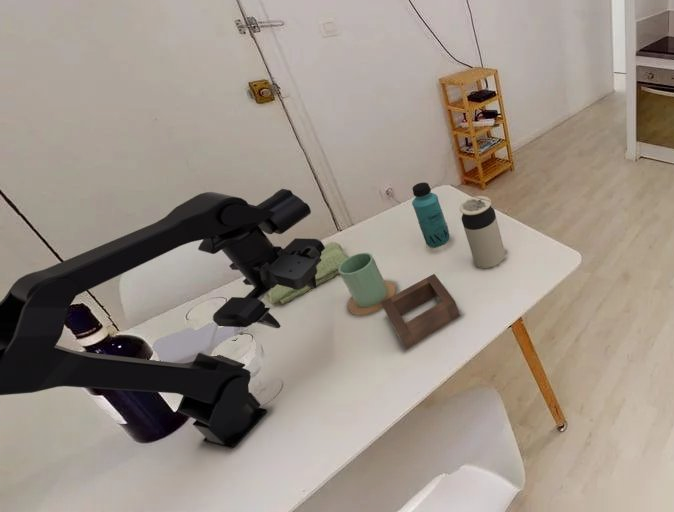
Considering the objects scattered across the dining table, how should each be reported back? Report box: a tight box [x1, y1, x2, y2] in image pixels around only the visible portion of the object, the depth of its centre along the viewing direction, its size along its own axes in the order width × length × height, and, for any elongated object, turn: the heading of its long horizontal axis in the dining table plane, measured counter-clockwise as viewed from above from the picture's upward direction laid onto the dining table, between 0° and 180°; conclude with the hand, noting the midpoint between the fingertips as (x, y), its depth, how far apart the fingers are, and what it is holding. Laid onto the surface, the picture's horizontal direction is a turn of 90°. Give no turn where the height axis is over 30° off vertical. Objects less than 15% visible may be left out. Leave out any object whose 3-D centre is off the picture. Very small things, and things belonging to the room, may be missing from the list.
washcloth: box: [267, 241, 350, 305], centre depth 106 cm, size 13×18×3 cm
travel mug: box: [459, 195, 506, 269], centre depth 106 cm, size 8×8×18 cm
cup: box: [338, 252, 388, 308], centre depth 96 cm, size 7×7×11 cm
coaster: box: [348, 280, 397, 316], centre depth 99 cm, size 10×10×1 cm
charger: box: [151, 322, 250, 363], centre depth 87 cm, size 5×9×15 cm
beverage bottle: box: [411, 181, 451, 249], centre depth 111 cm, size 6×7×20 cm
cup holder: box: [381, 273, 461, 350], centre depth 93 cm, size 12×12×5 cm
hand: (296, 306), depth 82 cm, fingers open, 9 cm apart
